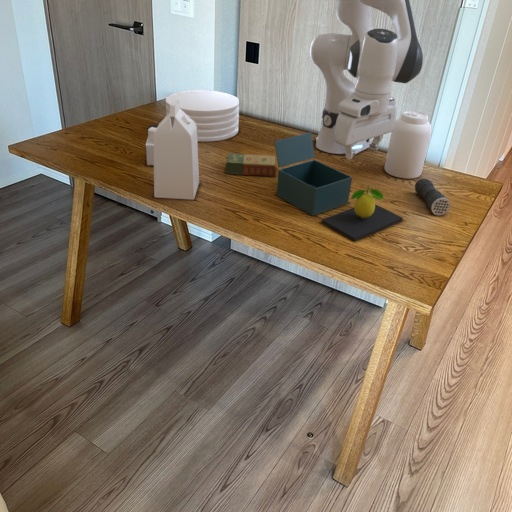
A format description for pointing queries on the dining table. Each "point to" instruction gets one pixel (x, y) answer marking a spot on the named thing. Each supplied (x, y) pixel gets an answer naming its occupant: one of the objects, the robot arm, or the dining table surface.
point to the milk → (176, 156)
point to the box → (313, 186)
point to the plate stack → (209, 112)
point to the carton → (251, 164)
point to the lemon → (365, 202)
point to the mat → (361, 222)
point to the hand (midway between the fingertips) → (361, 154)
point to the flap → (294, 149)
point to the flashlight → (432, 197)
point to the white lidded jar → (408, 145)
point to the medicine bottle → (150, 144)
